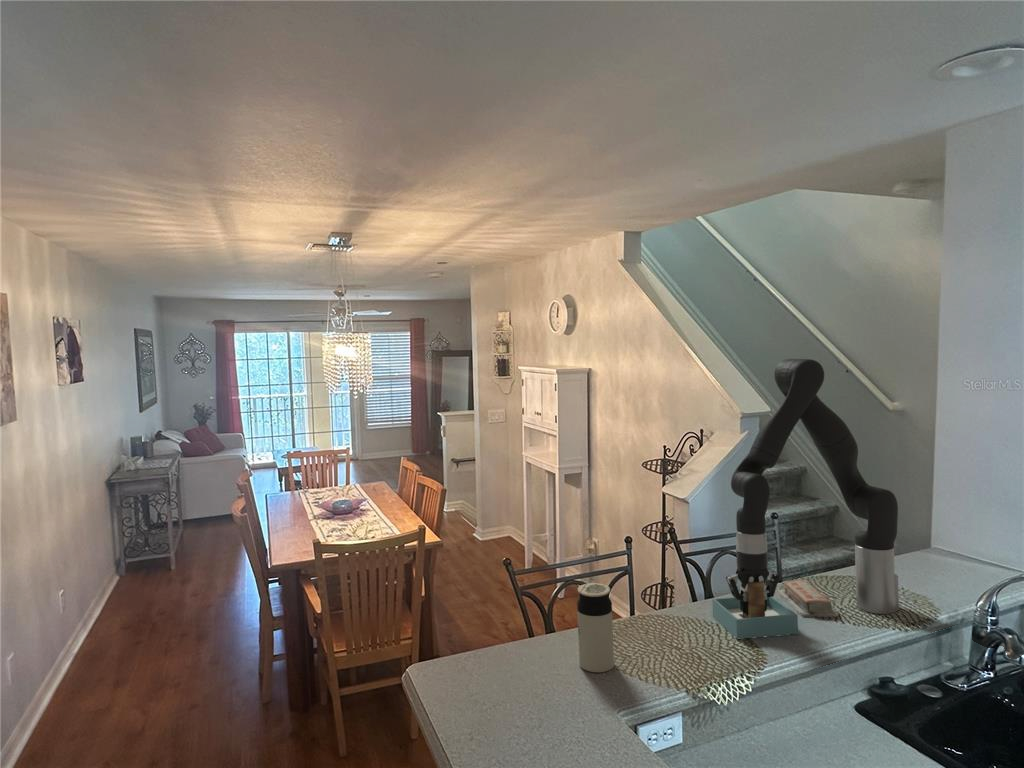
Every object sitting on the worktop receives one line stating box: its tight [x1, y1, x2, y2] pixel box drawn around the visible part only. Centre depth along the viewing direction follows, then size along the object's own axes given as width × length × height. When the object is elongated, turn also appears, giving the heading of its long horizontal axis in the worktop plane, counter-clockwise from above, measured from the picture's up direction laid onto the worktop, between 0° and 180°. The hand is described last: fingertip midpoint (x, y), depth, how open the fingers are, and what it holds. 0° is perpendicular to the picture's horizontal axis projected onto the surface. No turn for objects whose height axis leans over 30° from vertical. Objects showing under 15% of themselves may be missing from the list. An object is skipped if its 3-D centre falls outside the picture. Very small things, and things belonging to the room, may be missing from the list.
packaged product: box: [776, 578, 840, 618], centre depth 172 cm, size 18×5×10 cm
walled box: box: [712, 596, 799, 640], centre depth 159 cm, size 16×14×5 cm
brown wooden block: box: [743, 582, 765, 618], centre depth 159 cm, size 4×4×11 cm
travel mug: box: [576, 582, 615, 673], centre depth 142 cm, size 8×8×18 cm
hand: (753, 613), depth 159 cm, fingers closed on brown wooden block, 4 cm apart
